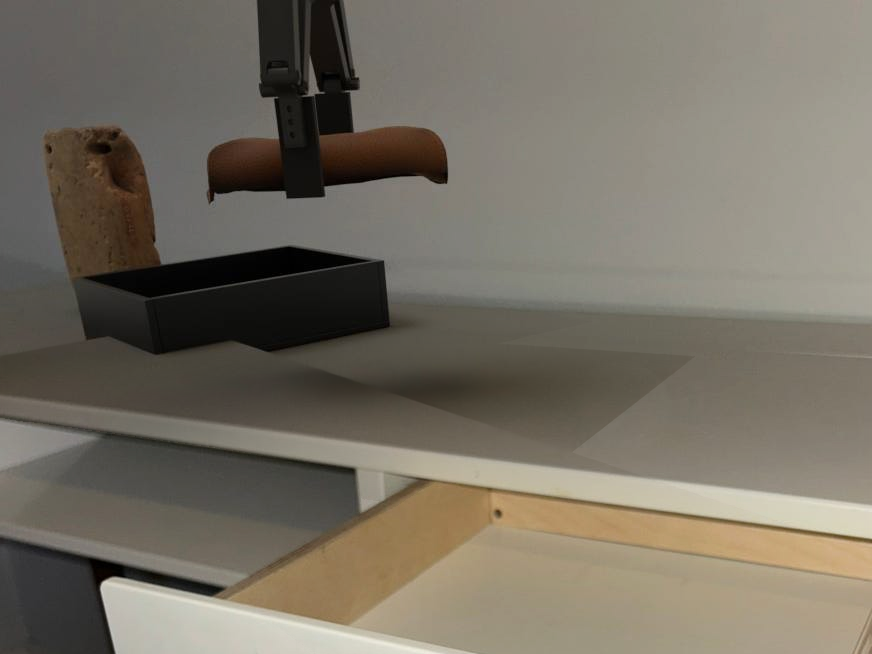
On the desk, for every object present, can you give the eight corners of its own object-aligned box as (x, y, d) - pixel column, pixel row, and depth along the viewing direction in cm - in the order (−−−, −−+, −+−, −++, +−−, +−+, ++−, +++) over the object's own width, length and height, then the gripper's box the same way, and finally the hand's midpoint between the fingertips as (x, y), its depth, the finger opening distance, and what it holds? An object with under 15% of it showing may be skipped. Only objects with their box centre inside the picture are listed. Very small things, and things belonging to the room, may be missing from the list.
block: (70, 314, 128) (28, 129, 118) (118, 302, 133) (81, 124, 124) (134, 319, 123) (95, 126, 113) (181, 306, 128) (147, 122, 119)
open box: (158, 373, 99) (144, 300, 96) (86, 342, 113) (71, 277, 110) (390, 326, 112) (384, 260, 109) (299, 303, 126) (291, 244, 123)
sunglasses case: (422, 171, 88) (427, 94, 82) (445, 226, 85) (452, 149, 79) (200, 189, 84) (190, 109, 78) (214, 248, 80) (205, 168, 75)
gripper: (293, -209, 61) (336, 205, 72) (375, -143, 81) (400, 173, 92) (168, -198, 62) (229, 209, 73) (279, -135, 82) (315, 177, 93)
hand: (324, 189), depth 82 cm, fingers closed on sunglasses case, 10 cm apart
